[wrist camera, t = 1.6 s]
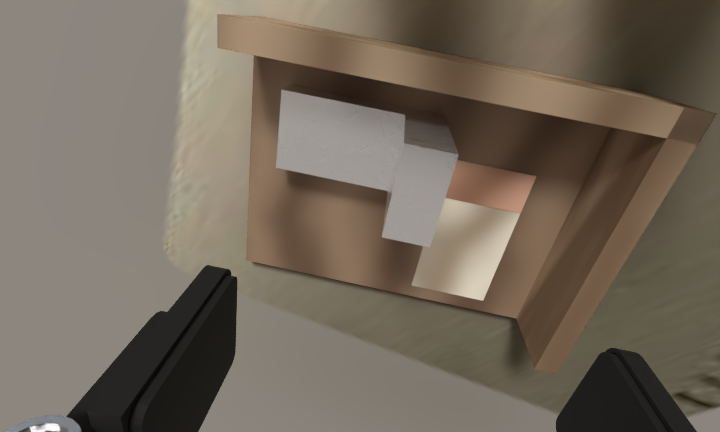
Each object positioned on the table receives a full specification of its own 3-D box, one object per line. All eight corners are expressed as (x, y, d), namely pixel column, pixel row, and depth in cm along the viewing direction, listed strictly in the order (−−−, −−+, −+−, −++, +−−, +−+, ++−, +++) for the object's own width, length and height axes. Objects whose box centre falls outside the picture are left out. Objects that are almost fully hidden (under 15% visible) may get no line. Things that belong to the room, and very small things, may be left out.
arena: (644, 93, 23) (716, 113, 17) (531, 314, 31) (555, 373, 26) (261, 16, 23) (217, 14, 18) (251, 253, 32) (219, 299, 26)
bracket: (444, 115, 24) (458, 154, 17) (424, 187, 26) (430, 247, 19) (290, 84, 24) (241, 109, 17) (284, 158, 26) (239, 207, 19)
